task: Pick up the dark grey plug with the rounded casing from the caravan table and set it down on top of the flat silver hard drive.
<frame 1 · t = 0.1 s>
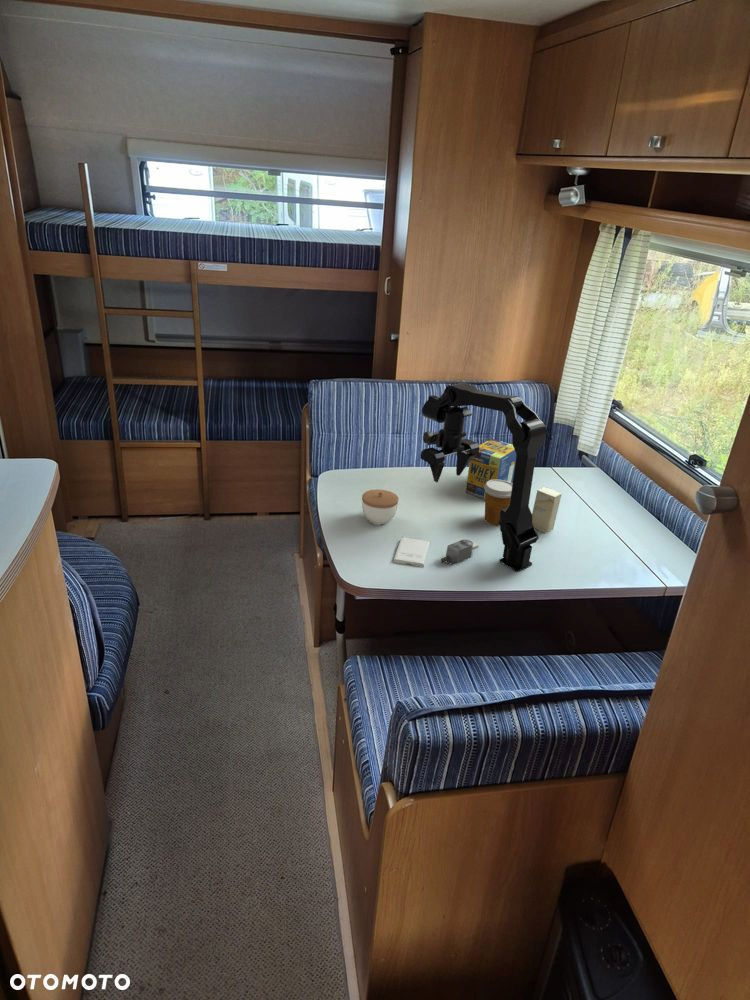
hand: (447, 478, 190), 15 cm above the table, tool pointing down, fingers open, 9 cm apart
skincare box: (541, 528, 198), on the table
protein box: (488, 491, 220), on the table
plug: (458, 557, 178), on the table
external hard drive: (411, 555, 179), on the table
lidded jar: (378, 520, 195), on the table
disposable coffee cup: (494, 521, 200), on the table
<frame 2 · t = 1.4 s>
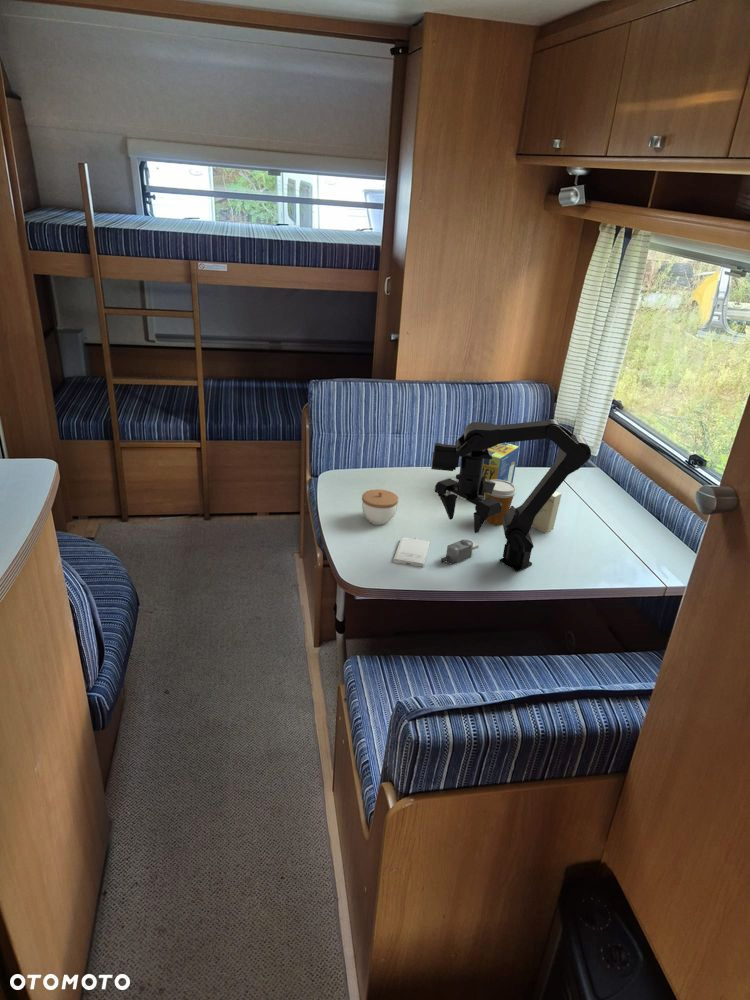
hand: (463, 525, 174), 10 cm above the table, tool pointing down, fingers open, 9 cm apart
nothing on the table moved.
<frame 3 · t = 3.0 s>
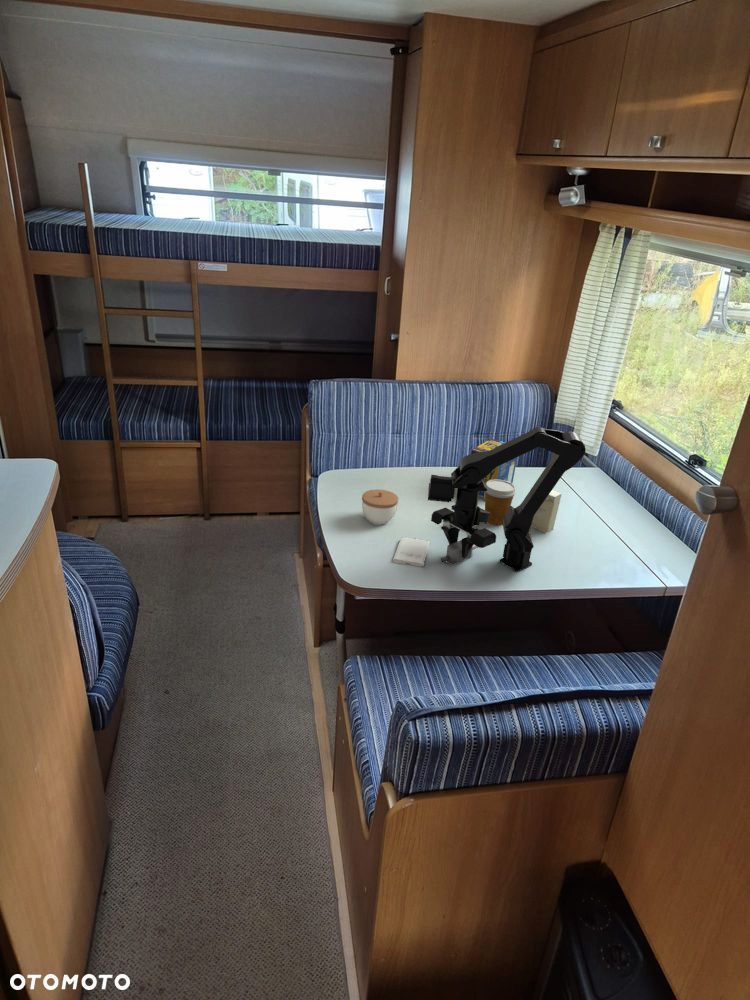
hand: (459, 554, 177), 1 cm above the table, tool pointing down, fingers closed on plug, 4 cm apart
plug: (458, 557, 178), on the table, touching gripper
everything else where it was.
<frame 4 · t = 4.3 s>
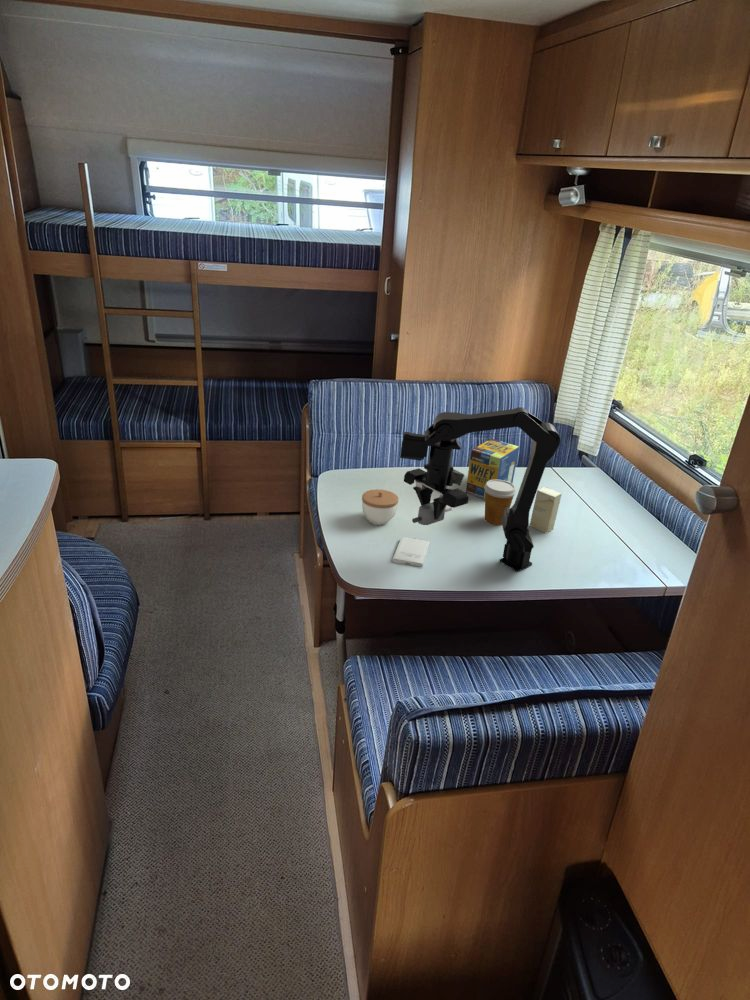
hand: (431, 516, 173), 12 cm above the table, tool pointing down, fingers closed on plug, 4 cm apart
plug: (430, 519, 174), point 11 cm above the table, touching gripper
everything else where it was.
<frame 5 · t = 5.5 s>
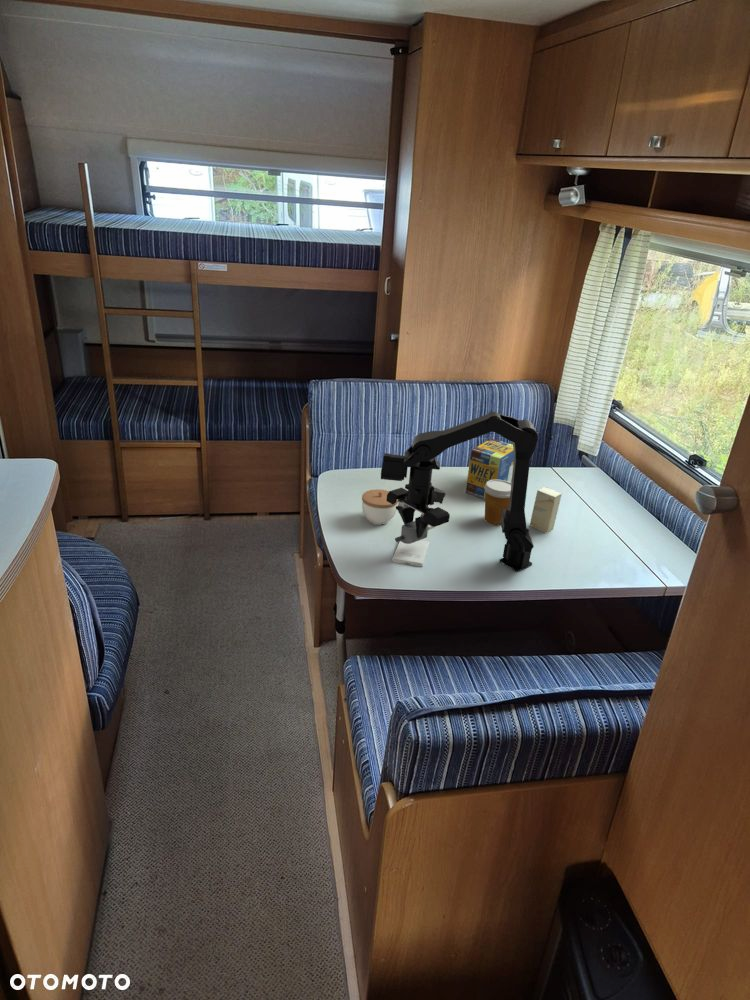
hand: (414, 534, 176), 6 cm above the table, tool pointing down, fingers closed on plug, 4 cm apart
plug: (413, 537, 176), point 5 cm above the table, touching gripper
everything else where it was.
when the fingers open (4 cm above the table, at t = 6.1 s): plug drops 2 cm, point 1 cm above the table.
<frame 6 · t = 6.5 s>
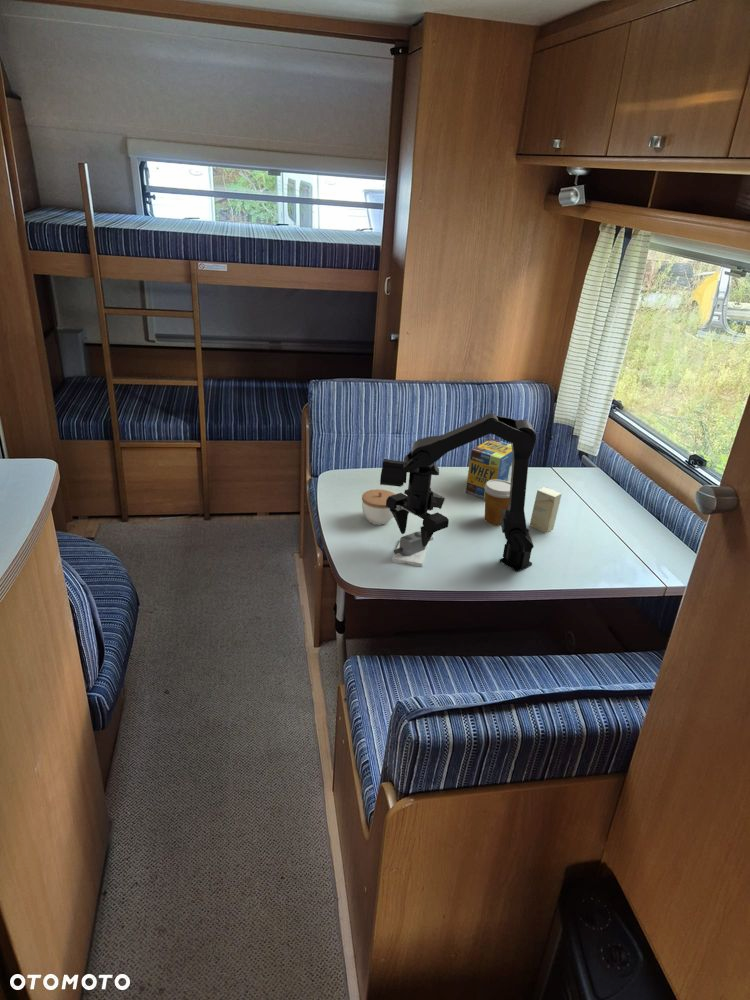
hand: (413, 539, 177), 4 cm above the table, tool pointing down, fingers open, 8 cm apart
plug: (412, 549, 178), point 1 cm above the table
everything else where it was.
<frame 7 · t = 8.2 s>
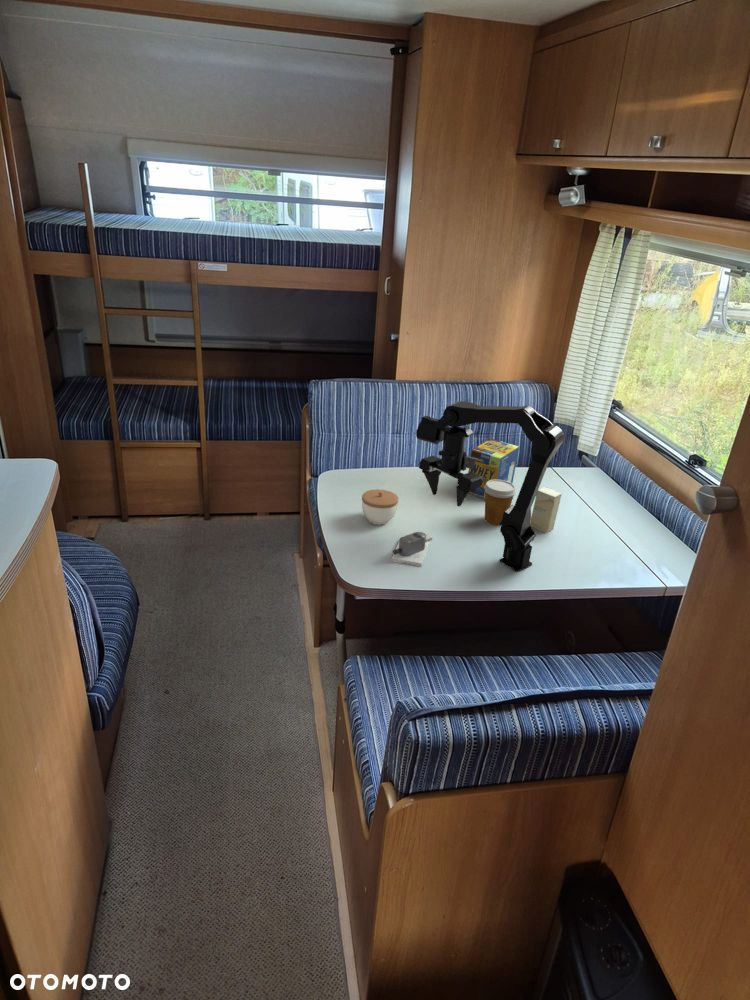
hand: (446, 500, 183), 12 cm above the table, tool pointing down, fingers open, 9 cm apart
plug: (411, 550, 178), point 1 cm above the table, touching external hard drive
external hard drive: (410, 554, 179), on the table, touching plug
everything else where it was.
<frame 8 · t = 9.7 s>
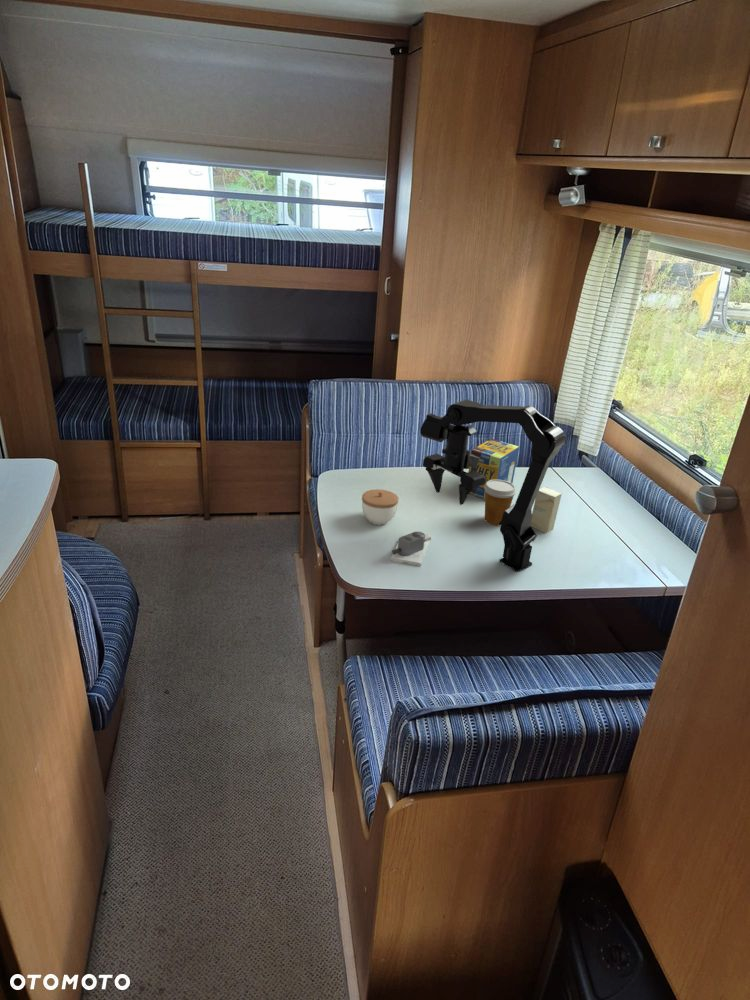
hand: (449, 498, 184), 12 cm above the table, tool pointing down, fingers open, 9 cm apart
nothing on the table moved.
at the end: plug inside the target area on the external hard drive (0.5 cm from its centre), point 1.8 cm above the external hard drive's base; the gripper is holding nothing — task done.
